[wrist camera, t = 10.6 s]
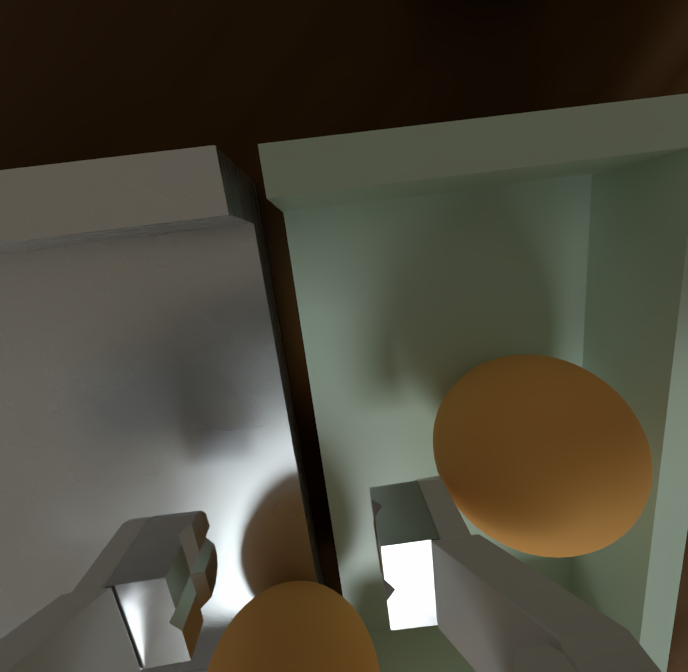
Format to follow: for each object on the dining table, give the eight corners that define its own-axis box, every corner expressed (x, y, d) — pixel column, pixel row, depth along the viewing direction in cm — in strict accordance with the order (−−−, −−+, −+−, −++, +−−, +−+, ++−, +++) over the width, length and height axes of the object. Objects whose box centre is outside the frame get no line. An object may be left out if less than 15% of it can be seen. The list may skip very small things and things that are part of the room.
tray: (607, 140, 9) (752, 86, 6) (580, 599, 12) (661, 710, 9) (280, 180, 8) (257, 144, 5) (350, 633, 12) (358, 757, 9)
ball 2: (520, 543, 9) (570, 666, 5) (406, 429, 10) (381, 463, 6) (638, 435, 9) (788, 486, 5) (505, 328, 10) (541, 299, 6)
